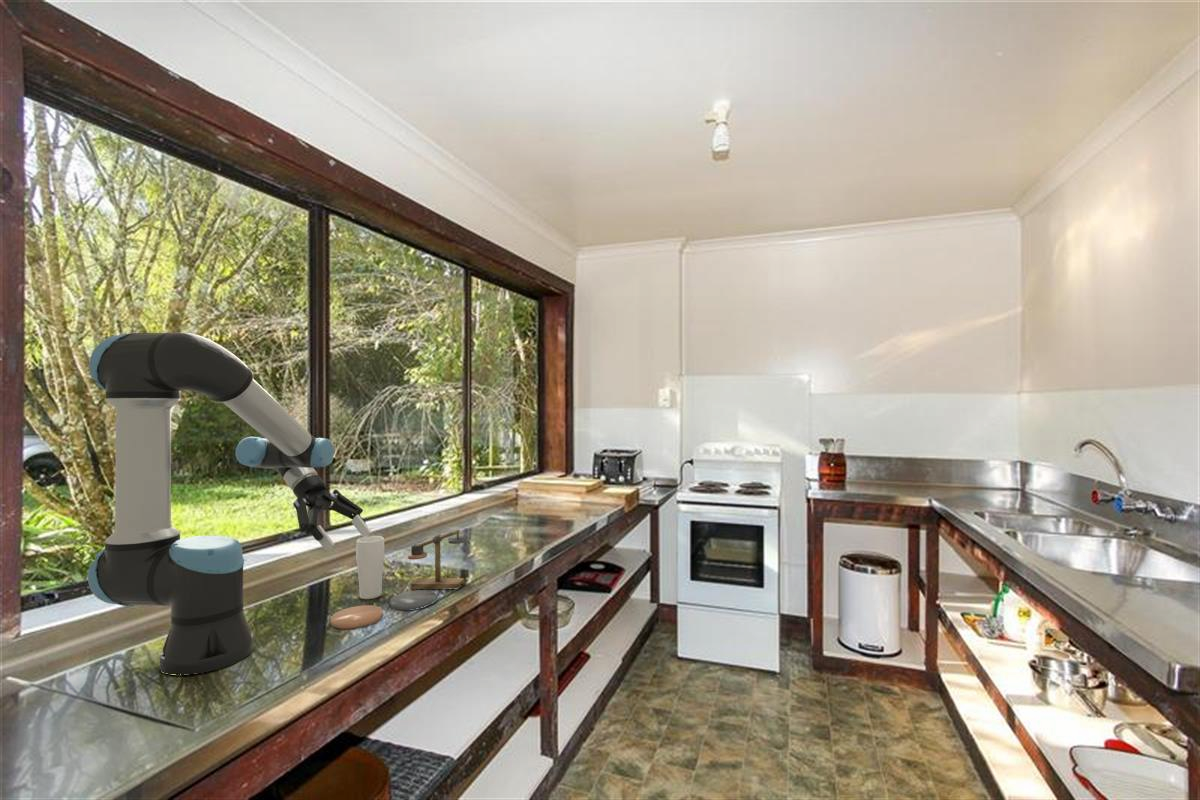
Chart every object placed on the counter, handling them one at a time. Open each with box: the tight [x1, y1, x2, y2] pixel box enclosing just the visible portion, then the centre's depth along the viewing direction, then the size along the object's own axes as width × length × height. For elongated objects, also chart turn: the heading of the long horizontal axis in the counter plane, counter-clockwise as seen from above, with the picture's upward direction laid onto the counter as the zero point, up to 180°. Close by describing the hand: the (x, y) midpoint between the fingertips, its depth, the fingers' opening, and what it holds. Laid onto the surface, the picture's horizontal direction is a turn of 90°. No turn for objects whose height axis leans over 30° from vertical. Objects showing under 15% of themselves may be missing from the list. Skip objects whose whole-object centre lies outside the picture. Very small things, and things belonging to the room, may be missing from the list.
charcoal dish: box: [389, 590, 437, 611], centre depth 138 cm, size 11×11×1 cm
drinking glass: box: [355, 535, 385, 600], centre depth 142 cm, size 7×7×15 cm
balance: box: [407, 529, 468, 591], centre depth 150 cm, size 16×5×16 cm, turn 87°
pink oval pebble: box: [330, 604, 384, 630], centre depth 127 cm, size 11×11×1 cm
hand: (350, 541), depth 146 cm, fingers open, 13 cm apart
